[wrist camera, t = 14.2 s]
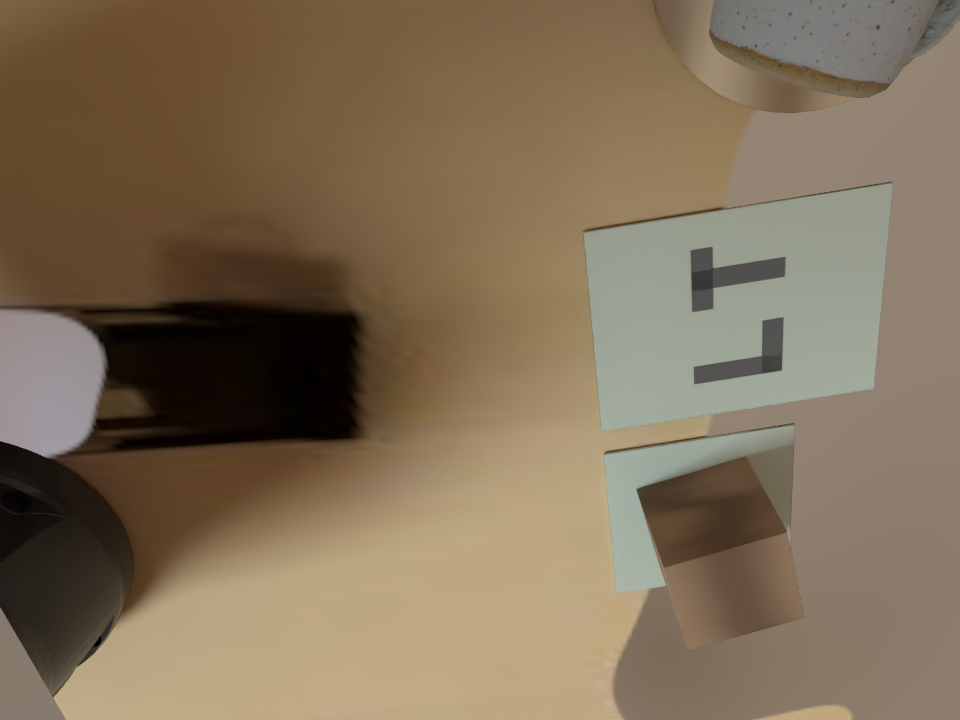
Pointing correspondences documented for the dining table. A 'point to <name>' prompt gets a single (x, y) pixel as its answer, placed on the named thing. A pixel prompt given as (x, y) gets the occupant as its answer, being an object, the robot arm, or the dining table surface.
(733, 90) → the coaster
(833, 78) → the ceramic mug
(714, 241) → the plate
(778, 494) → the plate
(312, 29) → the dining table surface
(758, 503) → the walnut block
